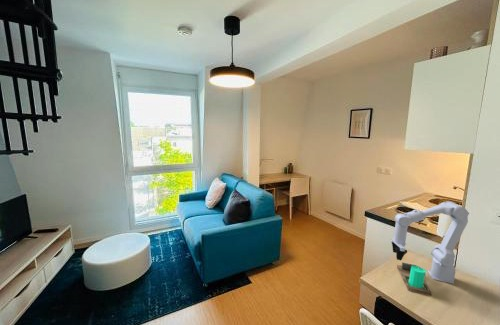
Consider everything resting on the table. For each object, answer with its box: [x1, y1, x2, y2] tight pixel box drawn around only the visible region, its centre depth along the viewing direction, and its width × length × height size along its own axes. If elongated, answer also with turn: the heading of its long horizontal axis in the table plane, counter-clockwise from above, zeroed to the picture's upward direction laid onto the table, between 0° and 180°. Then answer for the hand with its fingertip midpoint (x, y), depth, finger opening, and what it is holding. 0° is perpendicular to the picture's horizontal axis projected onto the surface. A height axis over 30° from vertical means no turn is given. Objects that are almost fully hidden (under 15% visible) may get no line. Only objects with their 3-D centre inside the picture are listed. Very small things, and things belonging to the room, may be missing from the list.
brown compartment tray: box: [396, 261, 433, 297], centre depth 117 cm, size 20×10×5 cm, turn 159°
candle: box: [408, 265, 427, 289], centre depth 111 cm, size 6×6×12 cm
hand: (397, 255), depth 123 cm, fingers open, 7 cm apart
